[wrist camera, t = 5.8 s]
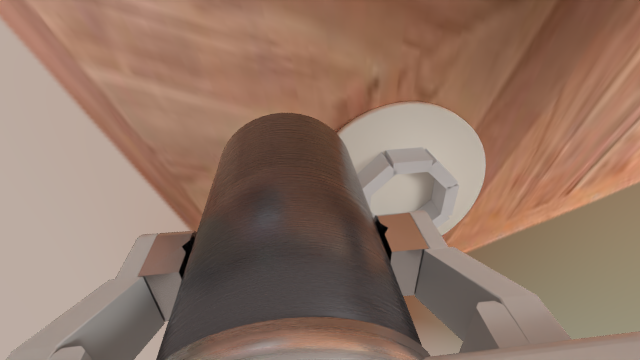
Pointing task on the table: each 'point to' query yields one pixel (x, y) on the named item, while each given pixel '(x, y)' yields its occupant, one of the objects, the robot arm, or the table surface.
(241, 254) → the lens
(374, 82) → the table surface
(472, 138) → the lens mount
